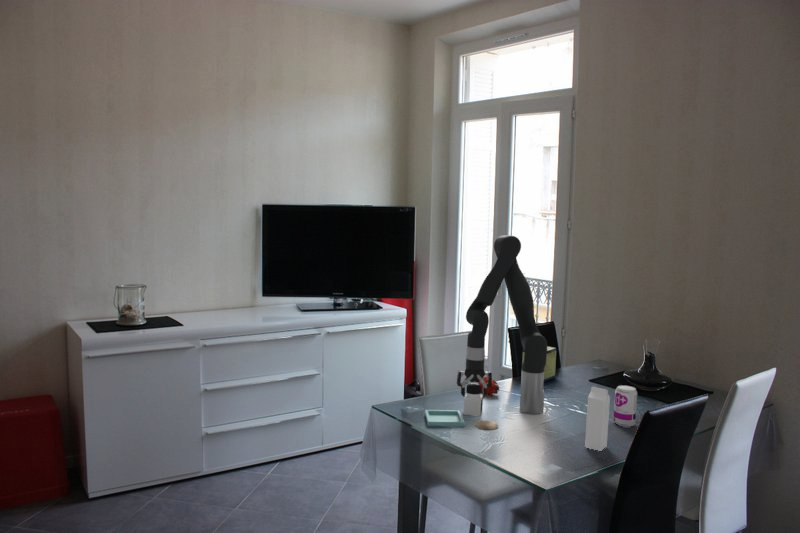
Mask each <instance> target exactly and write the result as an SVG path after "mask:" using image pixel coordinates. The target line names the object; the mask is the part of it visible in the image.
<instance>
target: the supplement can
mask: <svg viewBox="0 0 800 533" xmlns="http://www.w3.org/2000/svg"><path fill="white" fill-rule="evenodd" d="M637 401H638V391H637V388H636V387H635V386H630V385H626V384H625V385H622V384H620V385H618V386H617V387H616V389H615V393H614V406H613V421H614V422H613V423H614V424H615V423H616V424H619V425H622V426H633V425H634V426H635V425H636V414H637V403H638V402H637ZM616 424H615V425H616ZM634 426H633V427H634Z"/></svg>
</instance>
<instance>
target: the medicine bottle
mask: <svg viewBox="0 0 800 533" xmlns="http://www.w3.org/2000/svg"><path fill="white" fill-rule="evenodd" d="M483 401H484V397H483V394H481V385H479V384H478V383H476V382H470V383H468V384H467V385H466V390H465V397H463V415H464V416H473V417H481V416H482V413H483V405H484V404H483Z"/></svg>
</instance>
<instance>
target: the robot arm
mask: <svg viewBox="0 0 800 533" xmlns="http://www.w3.org/2000/svg"><path fill="white" fill-rule="evenodd" d="M521 249H522V243H521V241H520V239H519V238H518V237H517V236H515V235H509V234H508V235H500V236H497V238H496V239H495V240H494V242H493V251H494V253H495V256H496V257H497V258H496V262H495V263H494V265H493V267H491V270H490V271H489V272H488V274H487V276H486V277H485V279H484V280H483V282H482V284H481V286H480V289H479V290H478V293H477V296H476V297H475V299H474V300H473V301H472V303H471V304H470V305H469V307H468V309H467V310H466V313H465V314H466V315H465V320H466V322H467V323H468V324H469V325H471V326H472V329H471V331H469V332H468V334H467V342H466V352H465V353H466V354H465V369H464V371H463V370H457V375H456V376H457V377H456V385H457V386H458V387H460V395H461V396H462V397H463V398H464V397H465V395H466V387H467V385H468V384H470V383H478V382H479V381H480V382H481V383H482V385H483V386H484V387H483V394H482V395H483V398H485V397H486V396H488V395H487V388H488V387H491V386H492V380H493V377H492V376H493V373H492V371H491V370H489V371H485V360H486V359H485V358H486V355H485V354H486V351H485V346H486V345H485V344H486V341H485V340H486V334H487V333H488V332H487V331H488V327H489V322H490V319H489V315H488V313H487V312H486V309H487V308H488V307H491V306H492V305H493V304H494V301H495V299H496V297H497V295H498V292H499V290H500V287H501V285H502V284H503V281H504V284H505V287H506V291H507V294H508V298H509V301H510V302H509V303H510V306H511V307H512V311H513V313H514V316H515V318H516V321H517V326H518V330H519V335H520V343H521V346H522V349H525V355H524V362H523V363H522V362H521V377H520V378H521V380H520V394H519V395H520V396H519V411H520V412H522V413H525V414H528V415H529V414H531V415H538V414H543V413H544V407H545V406H544V405H545V390H544V383H545V382H544V368H545V365H546V359H547V346H548V341H547V339H546V337H545V336H543V335H542V334H541V332H540V330H539V327H538V326H537V321H536V319H535V305H534V297H533V295H532V294H533V293H532V290H531V286H530V284H529V283H528V280H527V278H526V276H525V275H524V273H523V272H522V269H521V267H520V265H519V263H518V261H517V257H518V255H519V254H520V252H521ZM463 375H464V376H465V378H464V380H463V381H462V377H463ZM483 377H488V383H486V384H485V382H484V381H483V379H482V378H483Z"/></svg>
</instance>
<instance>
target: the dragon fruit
mask: <svg viewBox="0 0 800 533" xmlns="http://www.w3.org/2000/svg"><path fill="white" fill-rule="evenodd" d="M482 379H483V381H484V382H485V384H486V383H488V377H487V376H484V377H483V378H482ZM477 384H479V385H481V395H483V387H484V386H483V385H482V383H481V382H480V381H479V382H477ZM499 391H500V386H499V384H498V382H497V381H496V380H493V379H492V386H491V387H488V388H487V395H486V396H487V397H493V396H494V395H493V394H495V395H497V394H498V392H499Z"/></svg>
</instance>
